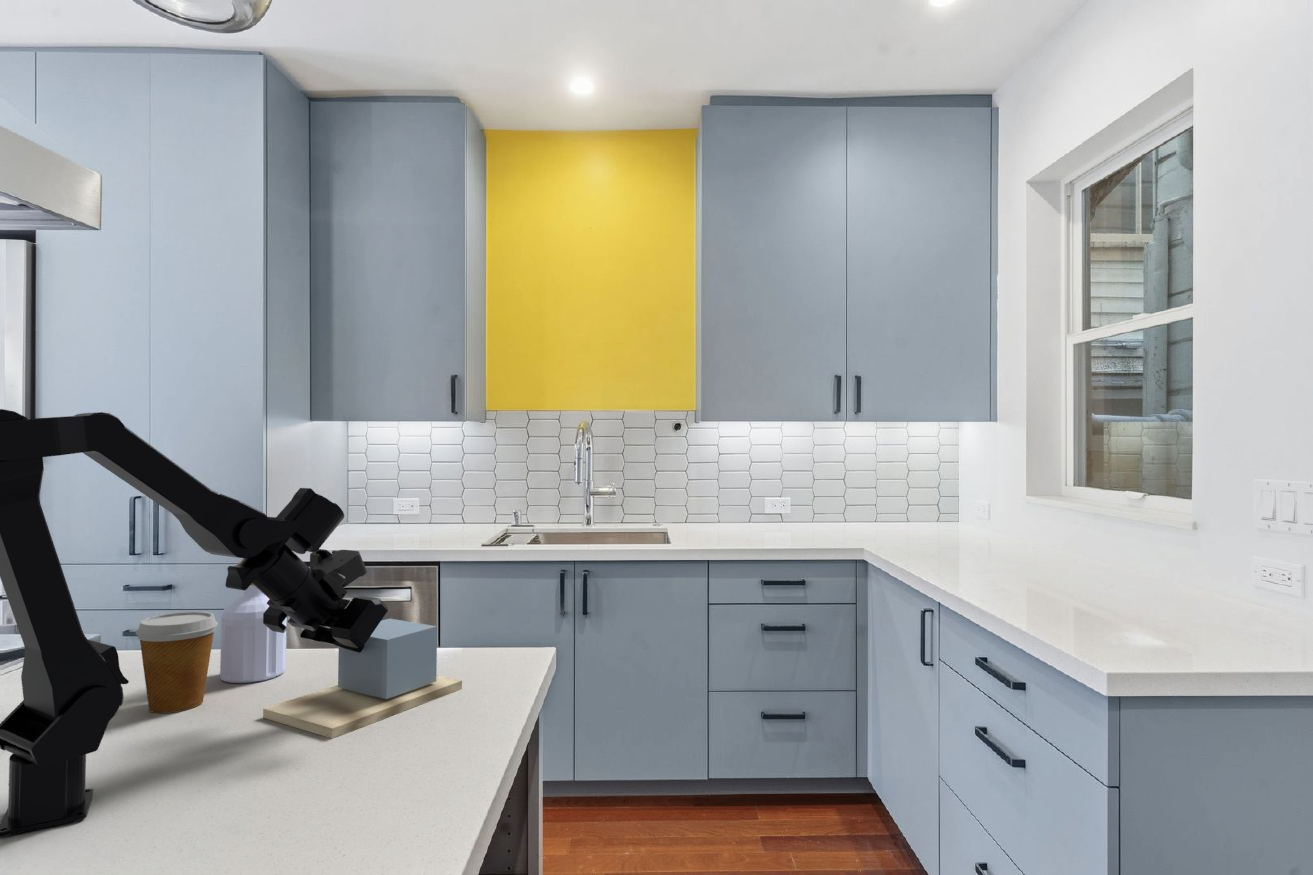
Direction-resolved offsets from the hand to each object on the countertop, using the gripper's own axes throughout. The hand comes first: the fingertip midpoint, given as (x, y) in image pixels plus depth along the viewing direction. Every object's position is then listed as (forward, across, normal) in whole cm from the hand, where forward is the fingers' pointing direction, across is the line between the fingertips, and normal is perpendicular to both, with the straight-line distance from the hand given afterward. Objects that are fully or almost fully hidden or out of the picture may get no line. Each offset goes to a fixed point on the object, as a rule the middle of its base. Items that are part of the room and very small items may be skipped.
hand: (360, 649), depth 101 cm
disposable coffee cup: (-3, +22, +15) cm, 26 cm away
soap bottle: (+6, +26, +5) cm, 27 cm away
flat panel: (+6, 0, +4) cm, 8 cm away
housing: (+8, 0, +1) cm, 8 cm away
